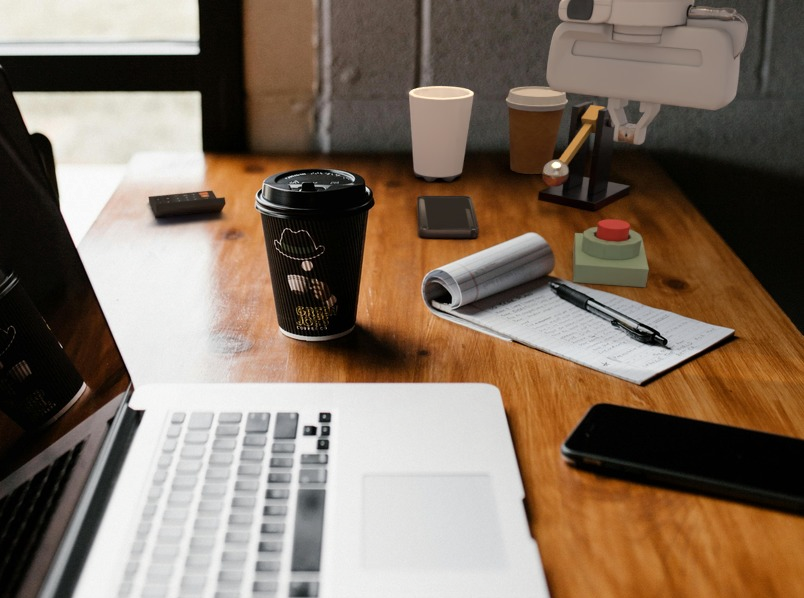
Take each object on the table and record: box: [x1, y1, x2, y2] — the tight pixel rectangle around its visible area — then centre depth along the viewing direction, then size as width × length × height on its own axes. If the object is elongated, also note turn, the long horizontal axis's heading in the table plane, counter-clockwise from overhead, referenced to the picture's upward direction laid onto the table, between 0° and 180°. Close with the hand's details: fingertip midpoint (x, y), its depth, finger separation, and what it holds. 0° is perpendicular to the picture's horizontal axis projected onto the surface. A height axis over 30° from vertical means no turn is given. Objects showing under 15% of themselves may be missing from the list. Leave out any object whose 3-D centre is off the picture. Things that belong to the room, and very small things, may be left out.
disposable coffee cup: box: [505, 86, 569, 175], centre depth 137 cm, size 10×10×12 cm
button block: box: [572, 226, 650, 288], centre depth 101 cm, size 11×8×4 cm
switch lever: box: [541, 104, 606, 187], centre depth 120 cm, size 14×4×4 cm
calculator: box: [148, 190, 226, 218], centre depth 122 cm, size 9×12×3 cm
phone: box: [416, 194, 480, 239], centre depth 118 cm, size 8×1×15 cm
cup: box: [408, 85, 475, 183], centre depth 133 cm, size 10×10×13 cm
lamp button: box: [596, 218, 631, 242], centre depth 100 cm, size 4×4×2 cm
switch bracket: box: [537, 101, 631, 212], centre depth 124 cm, size 11×9×13 cm
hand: (628, 142), depth 95 cm, fingers closed
